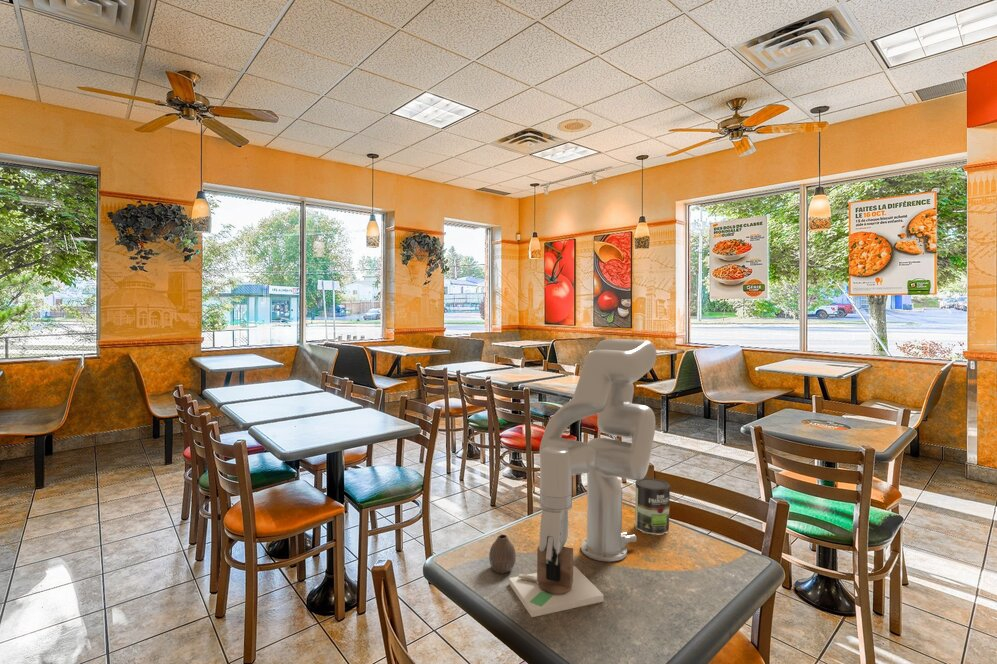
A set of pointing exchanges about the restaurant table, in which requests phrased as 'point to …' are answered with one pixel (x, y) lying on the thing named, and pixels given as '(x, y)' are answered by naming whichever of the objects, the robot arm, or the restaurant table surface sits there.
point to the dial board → (555, 595)
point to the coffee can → (652, 506)
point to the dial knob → (565, 572)
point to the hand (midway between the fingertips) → (555, 575)
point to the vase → (502, 555)
